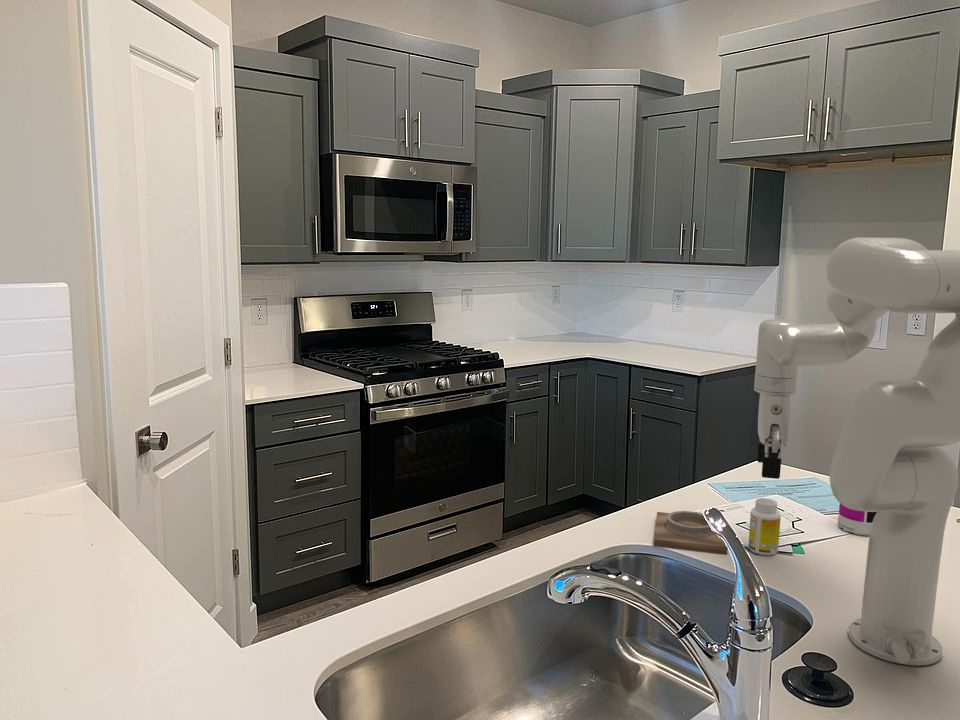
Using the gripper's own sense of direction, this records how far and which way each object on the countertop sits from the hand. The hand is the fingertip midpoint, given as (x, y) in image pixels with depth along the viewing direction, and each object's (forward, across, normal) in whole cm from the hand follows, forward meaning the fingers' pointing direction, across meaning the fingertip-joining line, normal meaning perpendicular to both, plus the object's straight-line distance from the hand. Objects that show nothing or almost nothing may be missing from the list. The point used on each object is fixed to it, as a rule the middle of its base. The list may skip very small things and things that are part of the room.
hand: (767, 469), depth 149 cm
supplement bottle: (+17, -1, 0) cm, 17 cm away
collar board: (+17, +3, +14) cm, 22 cm away
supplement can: (+17, +17, -21) cm, 32 cm away
